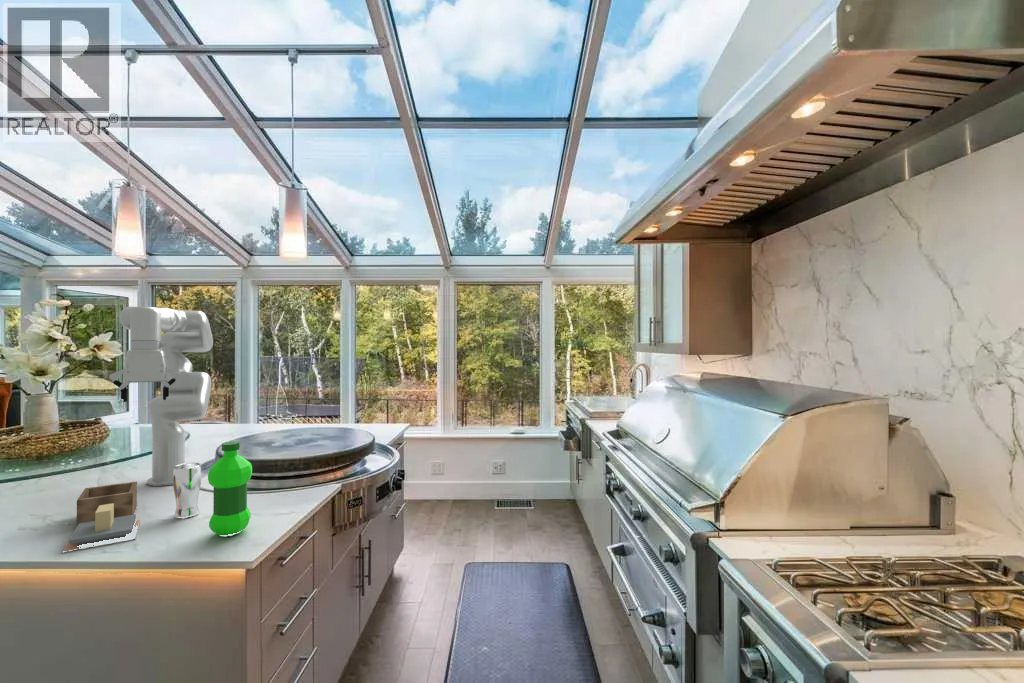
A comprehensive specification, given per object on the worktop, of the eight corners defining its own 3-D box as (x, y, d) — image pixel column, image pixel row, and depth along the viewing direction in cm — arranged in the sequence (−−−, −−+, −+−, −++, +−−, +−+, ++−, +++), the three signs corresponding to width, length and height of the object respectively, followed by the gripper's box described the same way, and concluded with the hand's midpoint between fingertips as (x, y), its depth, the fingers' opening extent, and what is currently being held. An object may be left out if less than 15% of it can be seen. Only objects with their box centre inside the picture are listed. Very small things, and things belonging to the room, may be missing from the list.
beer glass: (170, 521, 133) (170, 470, 133) (175, 512, 140) (175, 463, 139) (199, 517, 137) (199, 467, 136) (202, 509, 143) (202, 461, 142)
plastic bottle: (260, 527, 130) (260, 440, 130) (229, 543, 120) (230, 448, 120) (230, 523, 133) (231, 437, 132) (198, 539, 122) (198, 446, 122)
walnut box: (136, 506, 144) (136, 481, 144) (132, 519, 134) (132, 492, 134) (85, 514, 137) (85, 488, 137) (76, 529, 127) (76, 500, 127)
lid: (135, 521, 131) (136, 496, 131) (130, 537, 122) (131, 510, 121) (79, 531, 125) (79, 505, 125) (68, 549, 115) (68, 520, 115)
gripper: (180, 345, 152) (179, 397, 152) (111, 345, 142) (111, 400, 143) (179, 346, 146) (179, 400, 146) (107, 346, 136) (107, 404, 136)
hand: (145, 400), depth 144 cm, fingers open, 9 cm apart
